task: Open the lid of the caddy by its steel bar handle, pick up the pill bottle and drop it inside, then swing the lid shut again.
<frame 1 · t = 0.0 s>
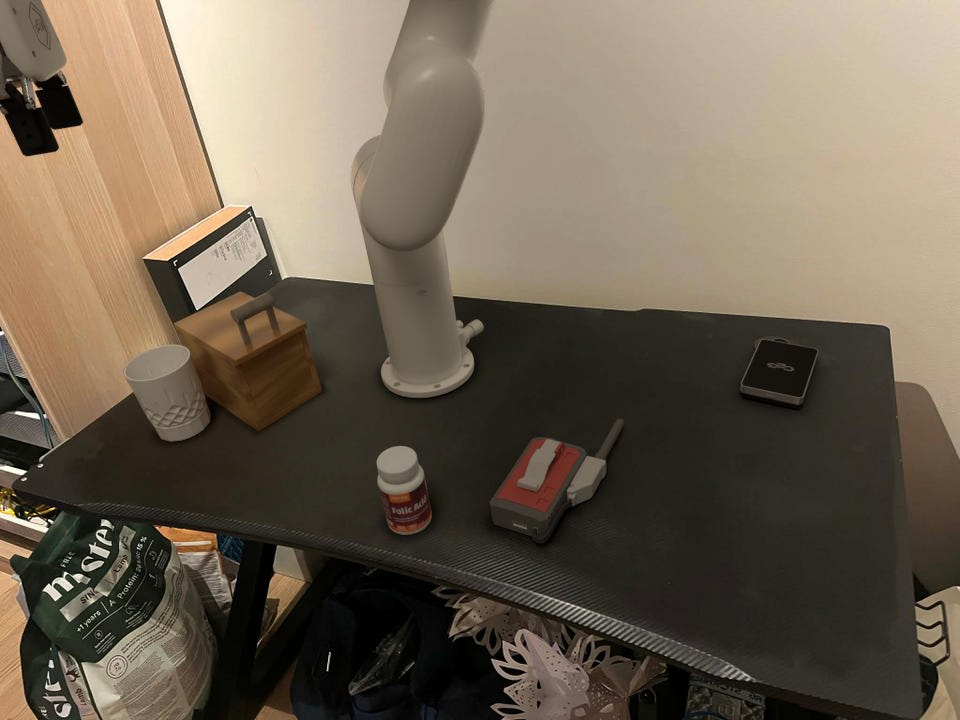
hand: (55, 139, 72), 37 cm above the table, tool pointing down, fingers open, 9 cm apart
caddy lid: (233, 309, 89), point 13 cm above the table, hinge at 0.0°
white cup: (185, 426, 92), on the table
caddy: (260, 392, 97), on the table
external hard drive: (778, 381, 87), on the table
walkie-talkie: (561, 479, 77), on the table
pill bottle: (410, 520, 74), on the table
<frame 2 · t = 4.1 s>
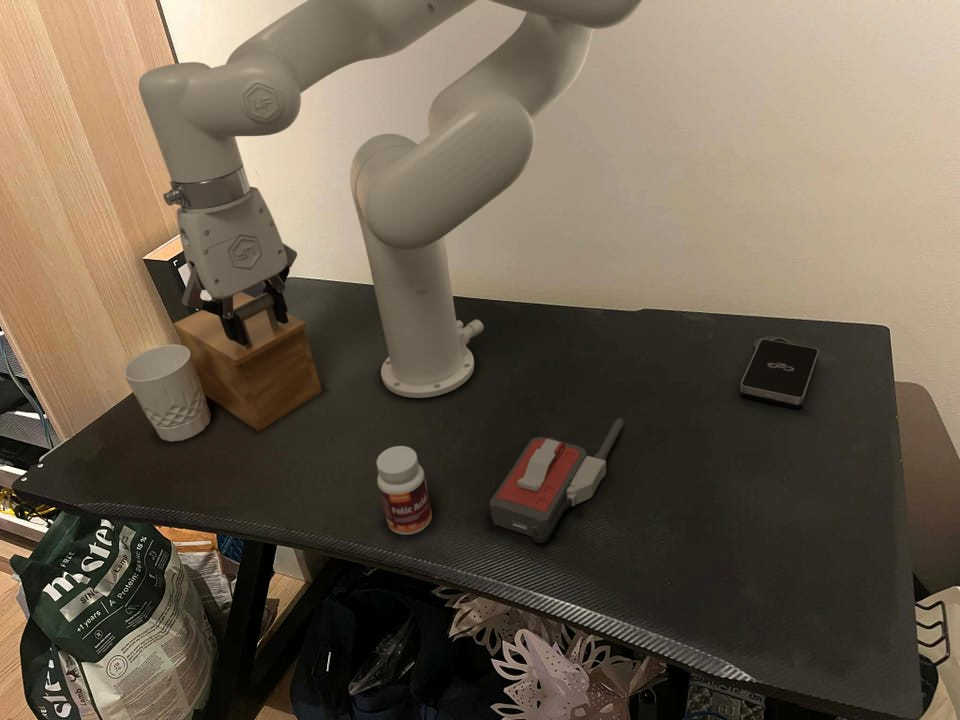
hand: (259, 329, 86), 12 cm above the table, tool pointing down, fingers closed on caddy lid, 5 cm apart
caddy lid: (233, 309, 89), point 13 cm above the table, hinge at 0.0°, touching gripper
everything else where it was.
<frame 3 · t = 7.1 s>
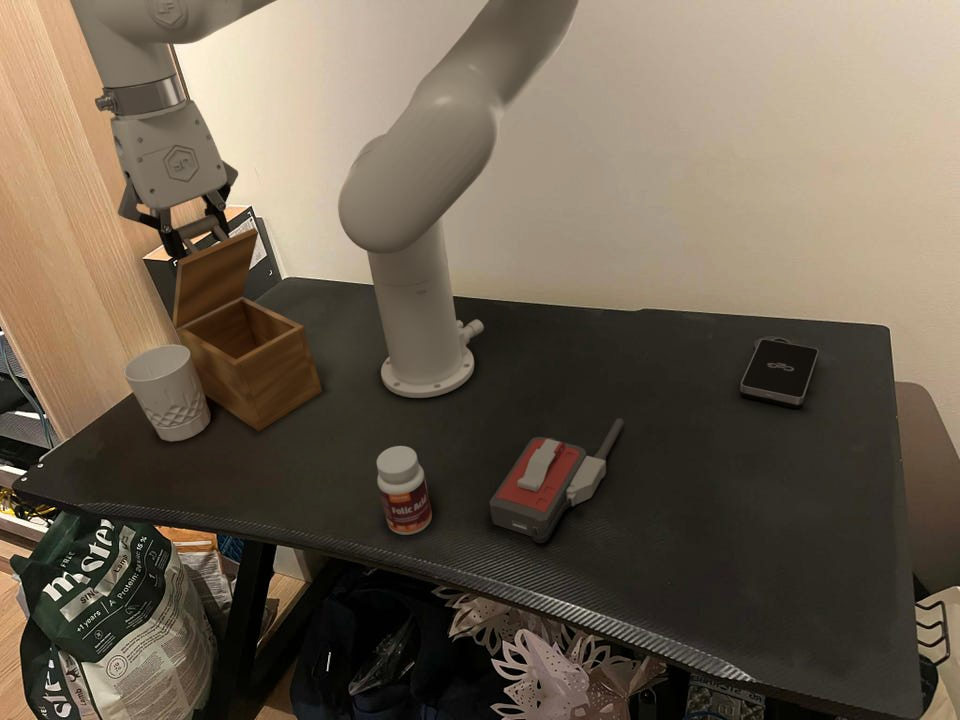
hand: (201, 248, 87), 21 cm above the table, tool pointing down, fingers closed on caddy lid, 5 cm apart
caddy lid: (202, 265, 89), point 18 cm above the table, hinge at 49.4°, touching gripper
everything else where it was.
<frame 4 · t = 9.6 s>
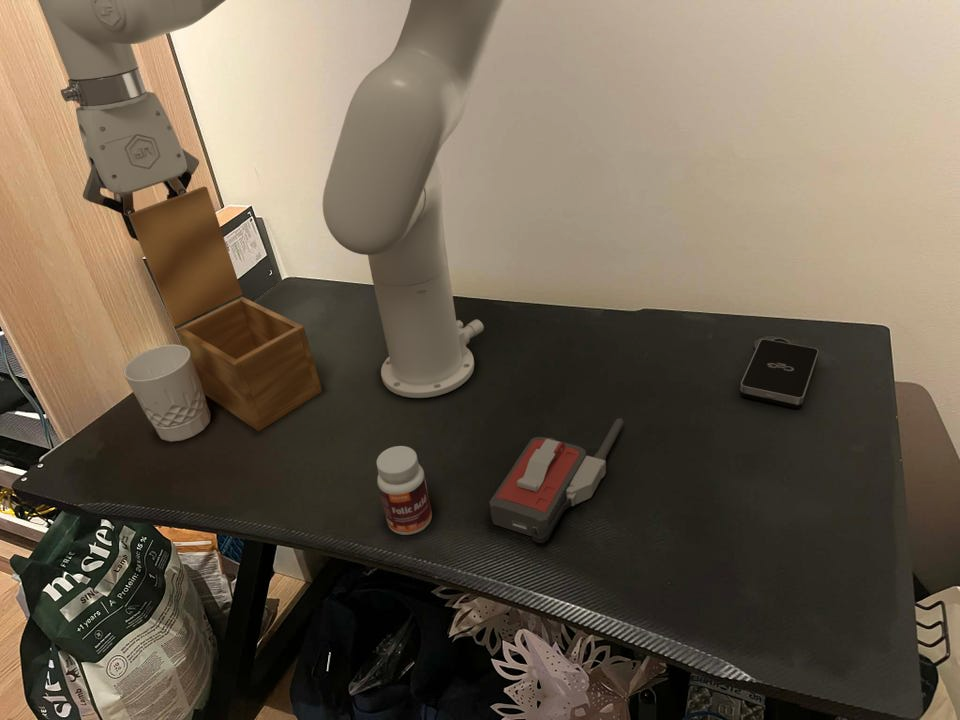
hand: (163, 231, 93), 21 cm above the table, tool pointing down, fingers closed on caddy lid, 5 cm apart
caddy lid: (180, 253, 92), point 18 cm above the table, hinge at 89.7°, touching gripper
everything else where it was.
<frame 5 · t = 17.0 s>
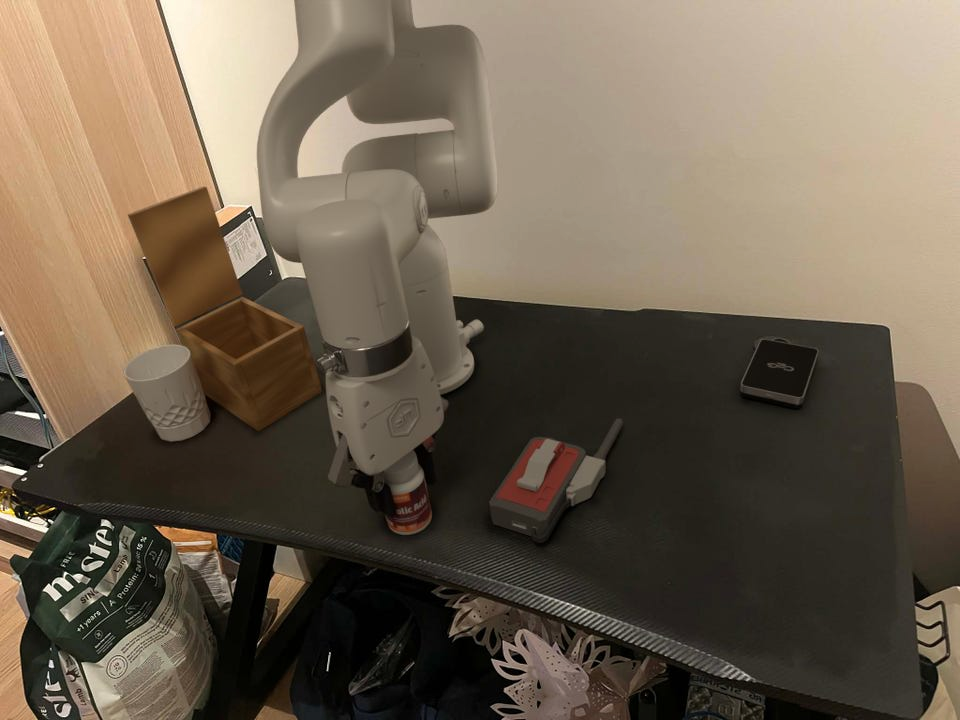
hand: (404, 492, 72), 4 cm above the table, tool pointing down, fingers closed on pill bottle, 4 cm apart
caddy lid: (180, 253, 92), point 18 cm above the table, hinge at 89.9°
pill bottle: (410, 520, 74), on the table, touching gripper
everything else where it was.
when the fingers open (12 cm above the table, at t = 23.5 s): pill bottle drops 7 cm, resting on caddy.
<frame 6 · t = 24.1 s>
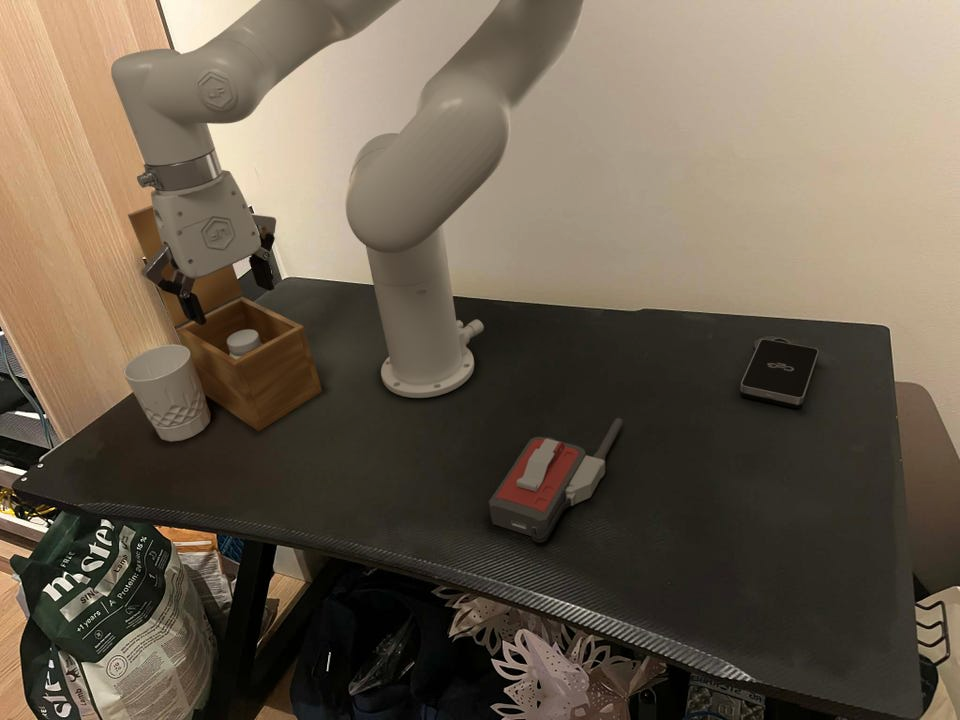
hand: (233, 304, 89), 14 cm above the table, tool pointing down, fingers open, 9 cm apart
pill bottle: (260, 390, 96), point 1 cm above the table, touching caddy
everything else where it was.
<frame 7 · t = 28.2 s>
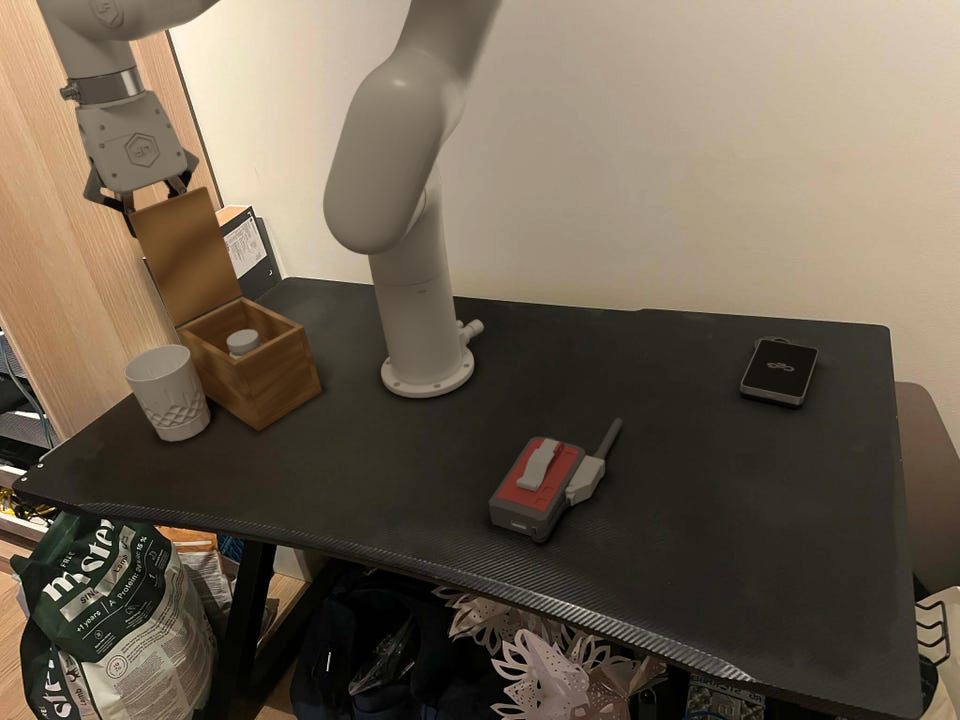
hand: (164, 231, 92), 21 cm above the table, tool pointing down, fingers closed on caddy lid, 5 cm apart
caddy lid: (180, 253, 92), point 18 cm above the table, hinge at 89.9°, touching gripper
everything else where it was.
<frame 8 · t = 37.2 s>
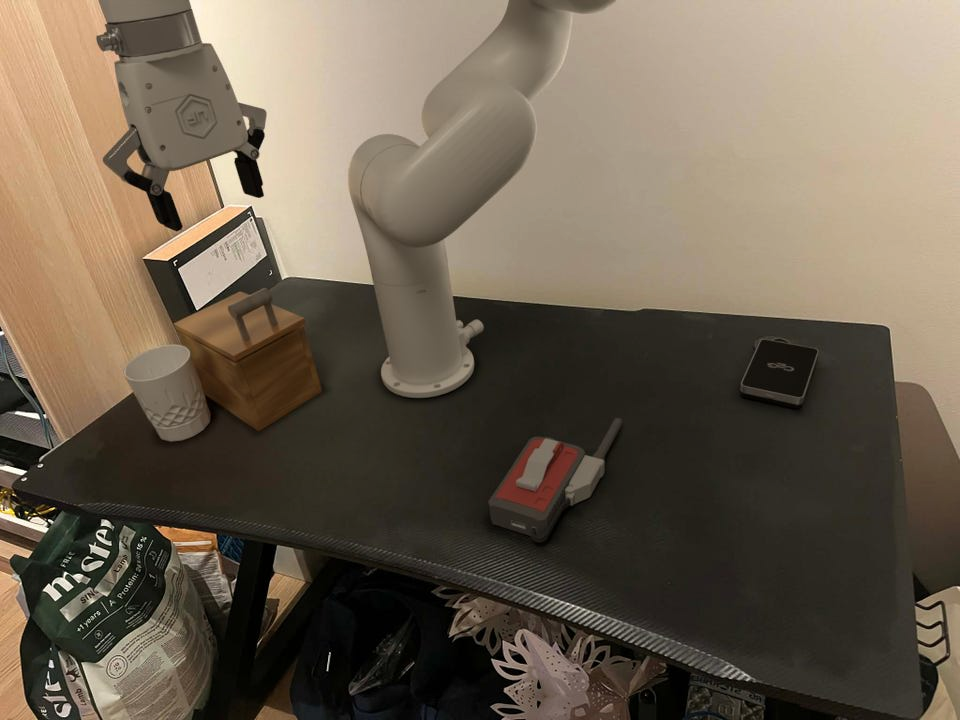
hand: (215, 211, 75), 28 cm above the table, tool pointing down, fingers open, 9 cm apart
caddy lid: (232, 306, 89), point 13 cm above the table, hinge at 2.4°
everything else where it was.
at the end: caddy lid reached +90° during the clip, +2° at the end; pill bottle inside the target area in the caddy (0.6 cm from its centre), point 0.6 cm above the caddy's base; caddy lid at +2° (first picture: +0°) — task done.
